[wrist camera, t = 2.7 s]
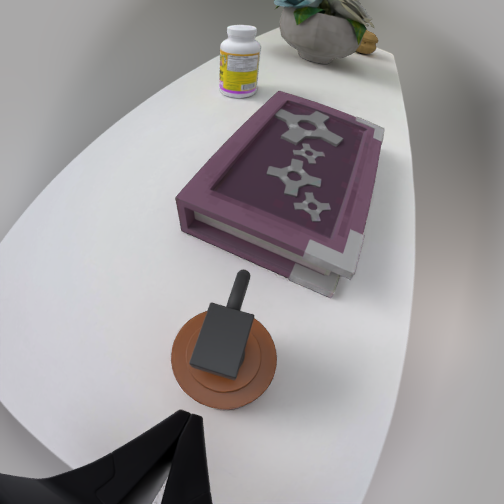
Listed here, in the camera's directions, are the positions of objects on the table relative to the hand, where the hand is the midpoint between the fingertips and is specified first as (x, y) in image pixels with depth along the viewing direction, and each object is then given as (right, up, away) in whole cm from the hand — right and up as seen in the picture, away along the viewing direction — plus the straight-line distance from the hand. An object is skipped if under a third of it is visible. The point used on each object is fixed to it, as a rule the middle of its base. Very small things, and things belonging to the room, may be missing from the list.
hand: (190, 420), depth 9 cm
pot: (+38, +75, +66) cm, 107 cm away
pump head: (+1, +2, +6) cm, 7 cm away
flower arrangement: (+19, +57, +53) cm, 80 cm away
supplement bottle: (0, +34, +37) cm, 51 cm away
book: (+8, +14, +25) cm, 30 cm away
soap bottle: (0, -4, +13) cm, 13 cm away
